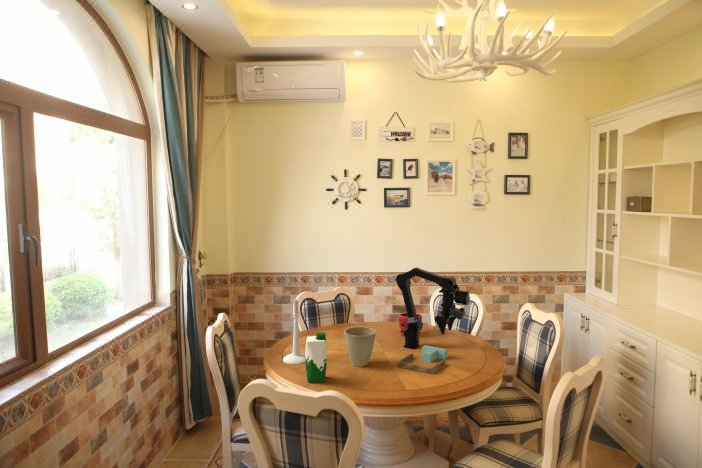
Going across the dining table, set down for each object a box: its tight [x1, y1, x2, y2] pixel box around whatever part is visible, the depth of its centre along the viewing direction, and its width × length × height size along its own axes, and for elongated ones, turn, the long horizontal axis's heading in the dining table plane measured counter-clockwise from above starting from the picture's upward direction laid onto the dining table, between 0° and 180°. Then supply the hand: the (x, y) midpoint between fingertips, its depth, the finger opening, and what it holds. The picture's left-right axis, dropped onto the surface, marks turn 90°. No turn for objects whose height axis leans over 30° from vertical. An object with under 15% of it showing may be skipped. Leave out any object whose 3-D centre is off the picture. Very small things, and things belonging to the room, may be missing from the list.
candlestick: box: [282, 299, 306, 366], centre depth 217 cm, size 13×13×30 cm
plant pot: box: [343, 326, 377, 368], centre depth 212 cm, size 15×15×16 cm
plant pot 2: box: [398, 312, 423, 337], centre depth 259 cm, size 13×13×12 cm
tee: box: [421, 344, 448, 364], centre depth 220 cm, size 12×12×4 cm
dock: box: [396, 353, 446, 375], centre depth 210 cm, size 18×14×2 cm
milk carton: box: [304, 332, 328, 384], centre depth 193 cm, size 9×9×20 cm
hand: (446, 332), depth 228 cm, fingers open, 9 cm apart
